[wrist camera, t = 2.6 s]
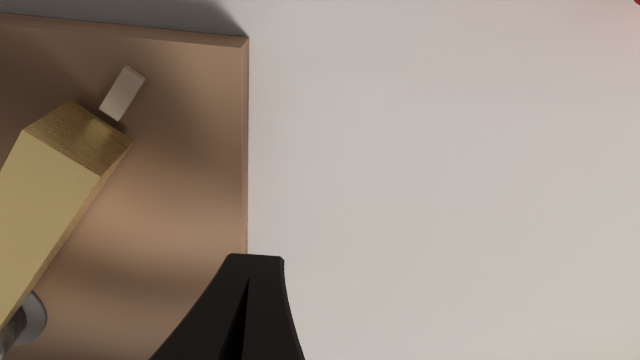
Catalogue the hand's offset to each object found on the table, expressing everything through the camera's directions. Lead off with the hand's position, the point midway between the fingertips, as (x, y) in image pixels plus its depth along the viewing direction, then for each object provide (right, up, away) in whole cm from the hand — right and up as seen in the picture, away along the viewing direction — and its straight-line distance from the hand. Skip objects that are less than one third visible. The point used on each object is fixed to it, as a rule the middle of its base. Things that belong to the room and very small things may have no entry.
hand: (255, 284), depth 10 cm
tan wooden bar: (-9, 0, +4) cm, 10 cm away
